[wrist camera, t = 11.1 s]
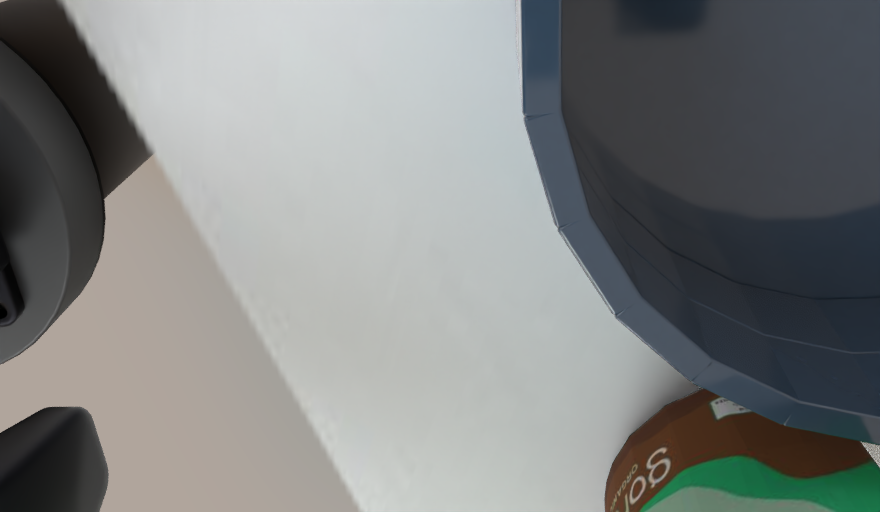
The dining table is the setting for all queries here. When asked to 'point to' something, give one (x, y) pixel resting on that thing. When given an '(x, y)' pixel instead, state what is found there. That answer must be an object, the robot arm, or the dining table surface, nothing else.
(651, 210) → the pot
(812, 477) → the food container
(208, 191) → the dining table surface
